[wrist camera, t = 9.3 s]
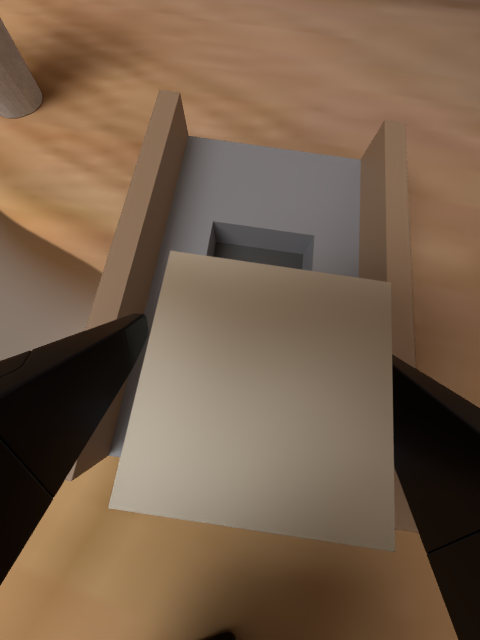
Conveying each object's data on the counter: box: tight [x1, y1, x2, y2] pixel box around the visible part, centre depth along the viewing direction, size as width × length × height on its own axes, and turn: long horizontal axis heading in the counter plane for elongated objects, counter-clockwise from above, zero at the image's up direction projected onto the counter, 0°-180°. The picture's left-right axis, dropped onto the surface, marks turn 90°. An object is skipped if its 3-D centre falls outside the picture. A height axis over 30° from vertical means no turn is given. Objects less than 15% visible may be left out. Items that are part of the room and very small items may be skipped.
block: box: [108, 251, 395, 552], centre depth 9 cm, size 5×5×10 cm
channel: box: [65, 90, 419, 533], centre depth 16 cm, size 25×18×6 cm
